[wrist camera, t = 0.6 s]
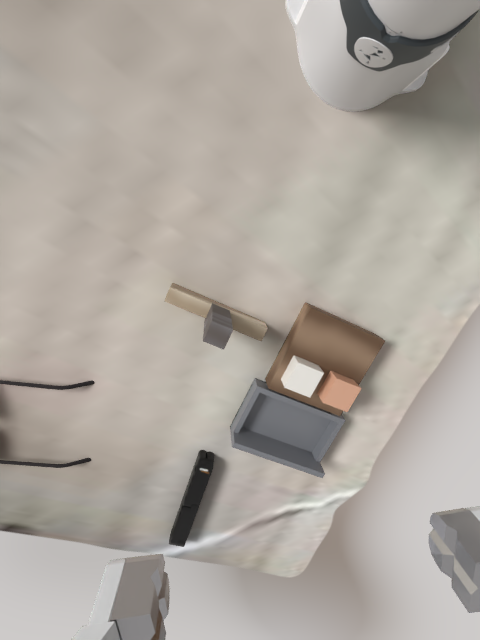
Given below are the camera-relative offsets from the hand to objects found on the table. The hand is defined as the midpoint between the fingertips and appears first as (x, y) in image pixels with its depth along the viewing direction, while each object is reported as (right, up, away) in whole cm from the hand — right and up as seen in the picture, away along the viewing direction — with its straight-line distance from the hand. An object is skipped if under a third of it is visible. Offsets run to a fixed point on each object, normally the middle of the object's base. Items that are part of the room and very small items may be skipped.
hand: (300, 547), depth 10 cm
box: (+5, -9, +43) cm, 44 cm away
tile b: (+12, -3, +39) cm, 40 cm away
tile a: (+7, -1, +37) cm, 38 cm away
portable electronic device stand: (-10, -22, +46) cm, 52 cm away
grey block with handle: (-5, +8, +37) cm, 38 cm away
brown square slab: (+10, +1, +40) cm, 41 cm away
